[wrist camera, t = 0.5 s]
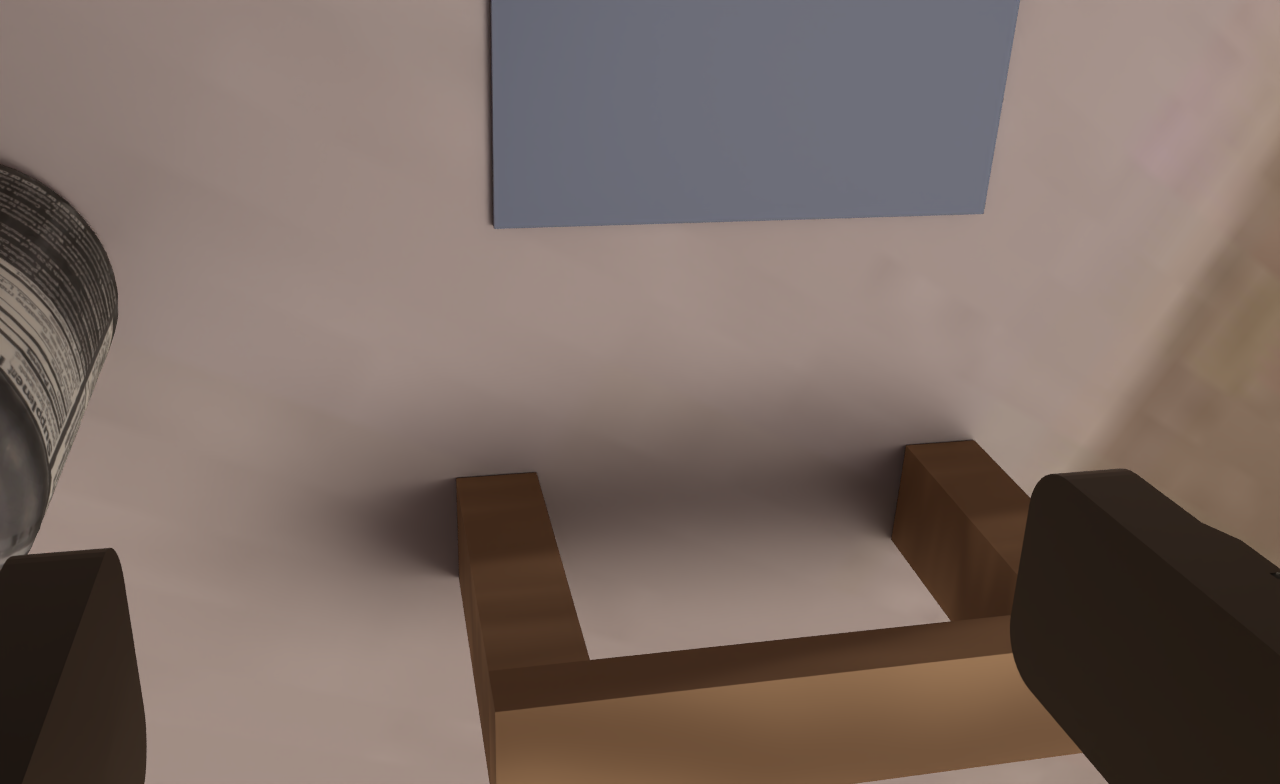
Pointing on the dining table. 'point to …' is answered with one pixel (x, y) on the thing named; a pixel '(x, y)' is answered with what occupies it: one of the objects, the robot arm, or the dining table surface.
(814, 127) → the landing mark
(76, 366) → the pill bottle
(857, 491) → the dining table surface
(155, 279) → the dining table surface
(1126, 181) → the dining table surface
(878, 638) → the bridge
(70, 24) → the dining table surface
